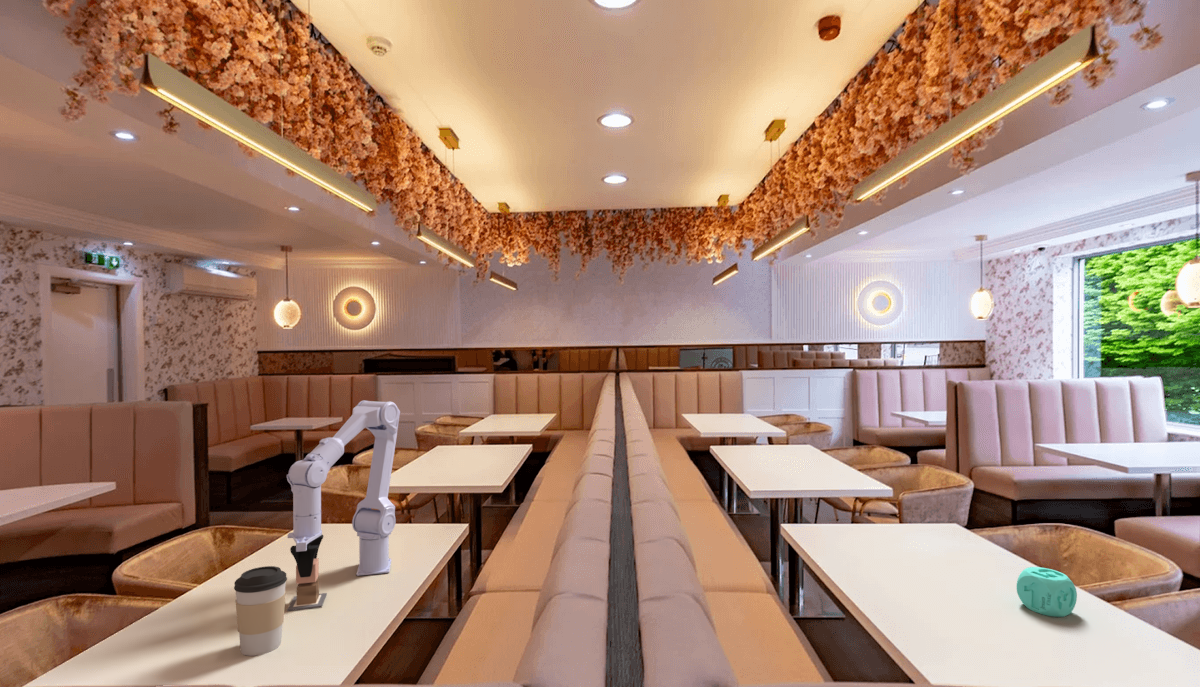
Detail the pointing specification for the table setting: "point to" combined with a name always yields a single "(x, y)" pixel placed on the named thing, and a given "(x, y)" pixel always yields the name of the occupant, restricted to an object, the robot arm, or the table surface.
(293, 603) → the mat
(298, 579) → the terracotta block
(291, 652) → the table surface
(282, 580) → the coffee cup
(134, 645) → the table surface
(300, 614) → the table surface
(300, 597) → the walnut block
